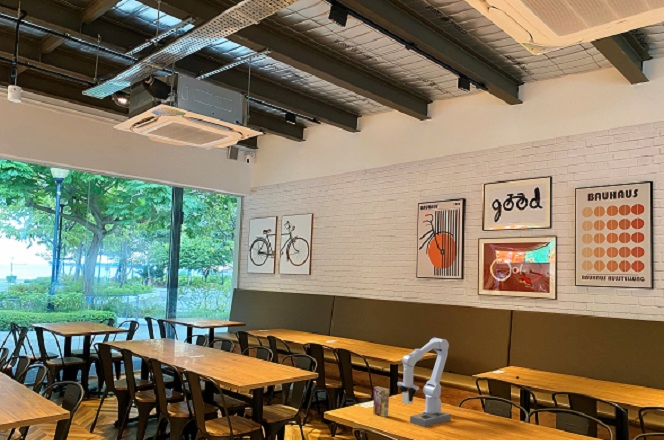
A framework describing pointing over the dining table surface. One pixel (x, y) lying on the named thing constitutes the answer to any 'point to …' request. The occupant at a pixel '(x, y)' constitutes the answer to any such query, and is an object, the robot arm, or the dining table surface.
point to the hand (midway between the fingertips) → (407, 400)
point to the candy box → (381, 401)
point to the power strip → (430, 418)
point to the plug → (406, 398)
